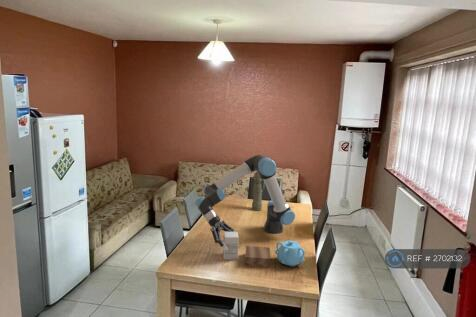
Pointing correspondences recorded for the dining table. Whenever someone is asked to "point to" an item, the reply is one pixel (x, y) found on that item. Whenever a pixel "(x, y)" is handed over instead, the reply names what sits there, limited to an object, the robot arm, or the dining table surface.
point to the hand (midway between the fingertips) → (232, 246)
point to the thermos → (257, 192)
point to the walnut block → (257, 256)
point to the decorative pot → (290, 253)
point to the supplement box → (231, 245)
